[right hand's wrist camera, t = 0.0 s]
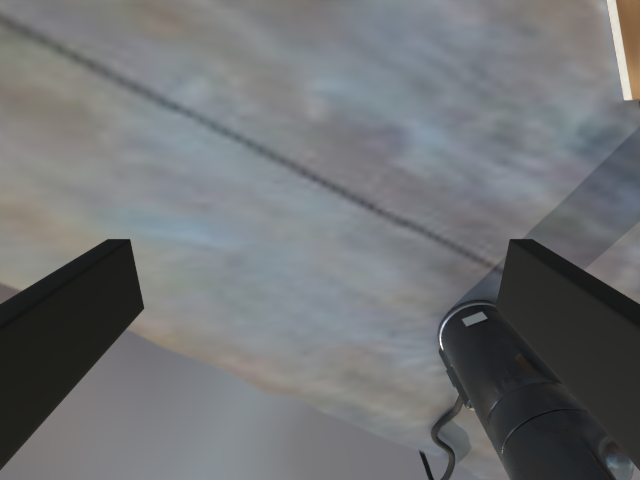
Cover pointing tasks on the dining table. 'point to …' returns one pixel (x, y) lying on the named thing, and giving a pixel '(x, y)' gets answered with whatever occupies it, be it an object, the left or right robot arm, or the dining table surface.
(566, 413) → the left robot arm
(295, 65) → the dining table surface
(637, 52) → the cabinet
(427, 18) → the dining table surface
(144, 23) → the dining table surface
